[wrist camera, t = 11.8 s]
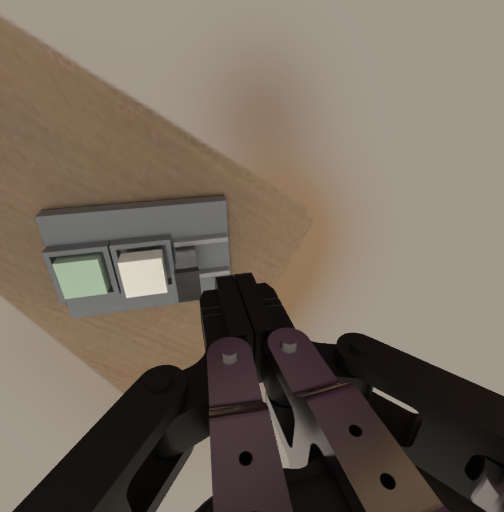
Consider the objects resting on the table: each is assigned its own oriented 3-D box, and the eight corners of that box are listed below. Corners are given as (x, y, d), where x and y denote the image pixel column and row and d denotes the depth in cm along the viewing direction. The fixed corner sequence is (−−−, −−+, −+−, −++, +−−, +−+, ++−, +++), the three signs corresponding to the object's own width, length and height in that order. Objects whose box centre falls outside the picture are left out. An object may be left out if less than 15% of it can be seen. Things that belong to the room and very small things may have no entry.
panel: (77, 307, 36) (68, 326, 33) (42, 210, 30) (28, 222, 27) (229, 286, 39) (233, 302, 36) (223, 195, 34) (228, 204, 31)
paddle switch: (178, 272, 34) (178, 302, 29) (174, 246, 33) (174, 273, 28) (198, 269, 35) (202, 299, 30) (195, 243, 33) (198, 270, 28)
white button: (129, 287, 32) (126, 298, 31) (120, 253, 31) (117, 263, 29) (167, 282, 33) (167, 292, 31) (162, 249, 31) (161, 258, 30)
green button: (70, 288, 32) (65, 299, 31) (59, 254, 31) (52, 264, 29) (111, 283, 33) (107, 293, 31) (101, 250, 31) (97, 259, 30)
